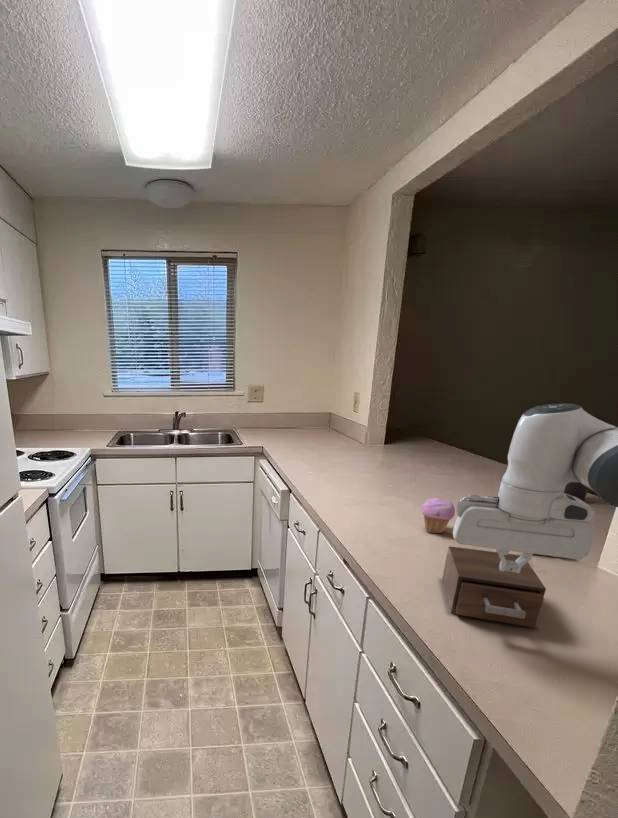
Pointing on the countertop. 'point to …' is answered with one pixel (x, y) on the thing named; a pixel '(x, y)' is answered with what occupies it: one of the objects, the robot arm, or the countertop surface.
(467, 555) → the cabinet
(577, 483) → the bottle
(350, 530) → the countertop surface
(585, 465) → the robot arm
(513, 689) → the countertop surface
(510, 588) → the drawer
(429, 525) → the cupcake
